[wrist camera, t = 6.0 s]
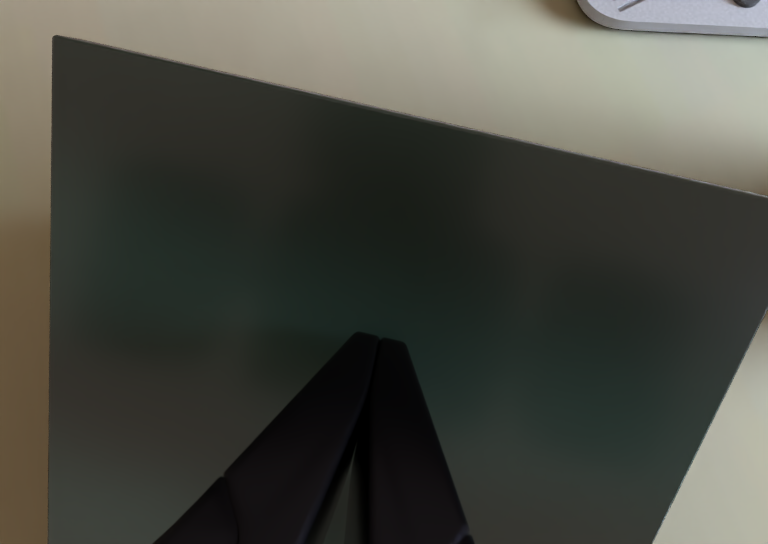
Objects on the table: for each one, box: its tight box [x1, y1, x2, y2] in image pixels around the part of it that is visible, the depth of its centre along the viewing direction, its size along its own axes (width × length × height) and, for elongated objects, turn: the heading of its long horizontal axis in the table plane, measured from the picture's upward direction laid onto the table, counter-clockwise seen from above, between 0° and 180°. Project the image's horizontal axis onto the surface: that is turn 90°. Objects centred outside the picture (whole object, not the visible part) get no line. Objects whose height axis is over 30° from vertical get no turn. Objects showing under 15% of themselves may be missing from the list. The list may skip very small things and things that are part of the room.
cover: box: [48, 35, 768, 544], centre depth 10 cm, size 14×11×1 cm
